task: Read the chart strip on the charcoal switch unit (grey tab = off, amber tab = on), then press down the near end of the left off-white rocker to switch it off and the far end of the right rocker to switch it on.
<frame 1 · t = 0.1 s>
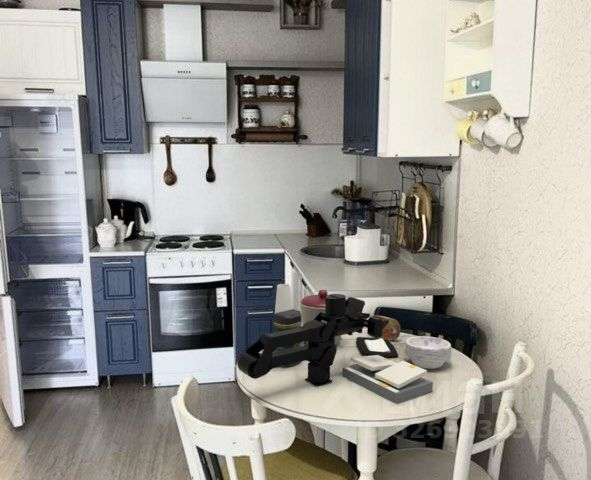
hand: (378, 318, 186), 17 cm above the table, tool horizontal, fingers open, 9 cm apart
rocker right: (400, 373, 167), point 5 cm above the table, hinge at -8.0°
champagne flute: (283, 349, 205), on the table
tin: (383, 338, 217), on the table
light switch: (376, 350, 204), on the table
coffee jar: (287, 363, 190), on the table
canister: (322, 344, 210), on the table
rocker left: (374, 362, 177), point 5 cm above the table, hinge at 8.0°
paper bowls: (427, 364, 189), on the table
switch unit: (385, 383, 173), on the table
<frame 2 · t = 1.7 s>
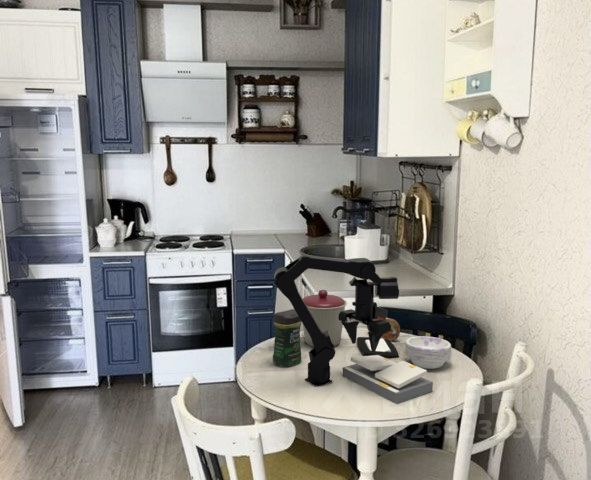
hand: (363, 347, 173), 11 cm above the table, tool pointing down, fingers open, 9 cm apart
nothing on the table moved.
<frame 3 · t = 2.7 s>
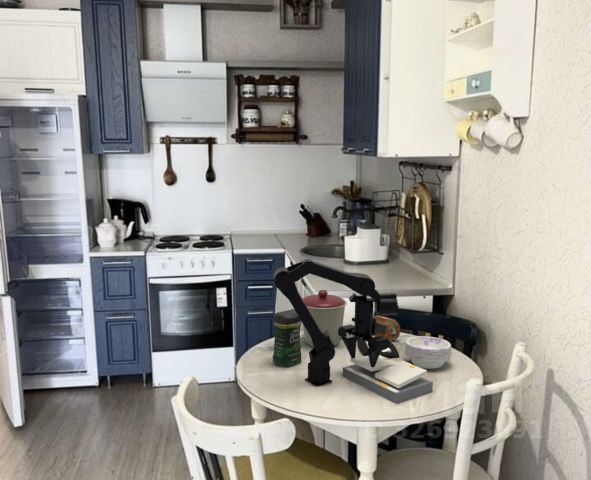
hand: (362, 363, 174), 6 cm above the table, tool pointing down
rocker left: (374, 362, 177), point 5 cm above the table, hinge at 6.0°, touching gripper
everything else where it was.
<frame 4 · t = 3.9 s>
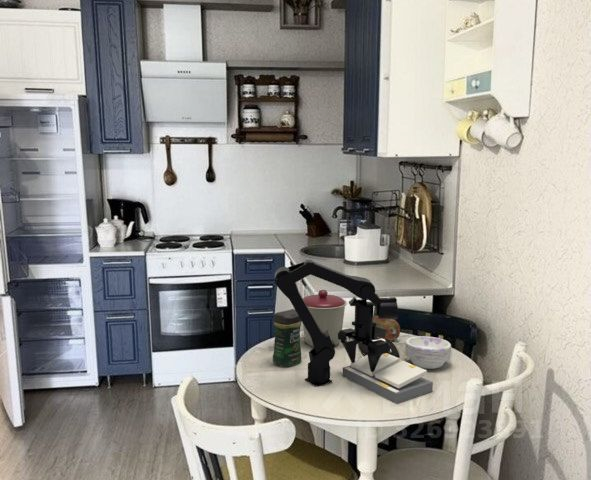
hand: (362, 367, 174), 5 cm above the table, tool pointing down
rocker left: (374, 362, 177), point 5 cm above the table, hinge at -11.2°, touching gripper
everything else where it was.
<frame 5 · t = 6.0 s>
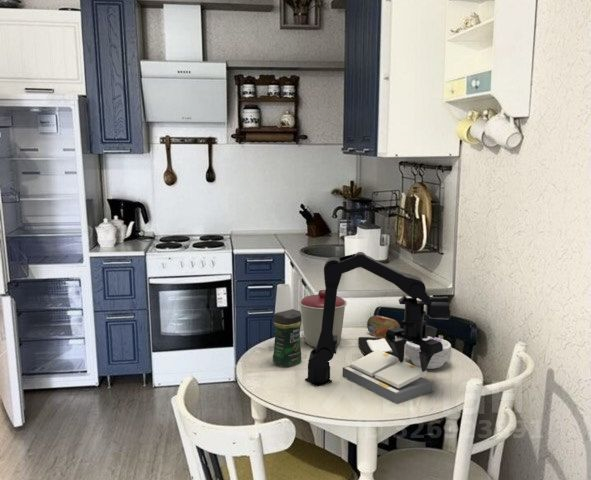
hand: (412, 366, 170), 6 cm above the table, tool pointing down
rocker right: (400, 373, 167), point 5 cm above the table, hinge at -8.0°, touching gripper
rocker left: (374, 362, 177), point 5 cm above the table, hinge at -11.5°
everything else where it was.
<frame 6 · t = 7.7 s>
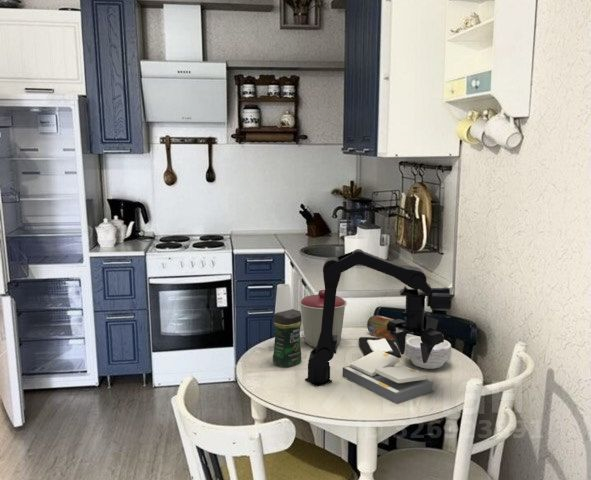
hand: (413, 358, 170), 9 cm above the table, tool pointing down, fingers open, 9 cm apart
rocker right: (400, 373, 167), point 5 cm above the table, hinge at 7.4°
everything else where it was.
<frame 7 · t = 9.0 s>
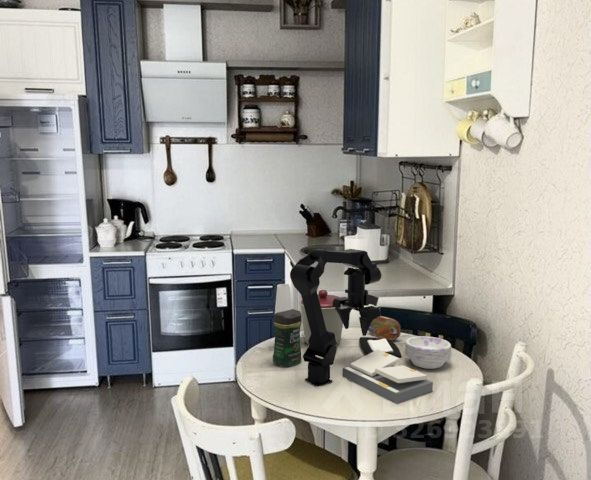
hand: (355, 332, 185), 12 cm above the table, tool pointing down, fingers open, 9 cm apart
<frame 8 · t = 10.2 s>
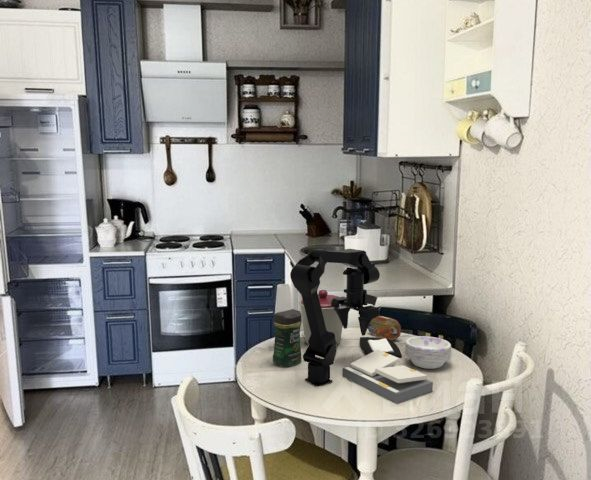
hand: (354, 331, 186), 12 cm above the table, tool pointing down, fingers open, 9 cm apart
at the end: rocker left at -12° (first picture: +8°); rocker right at +8° (first picture: -8°) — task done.
